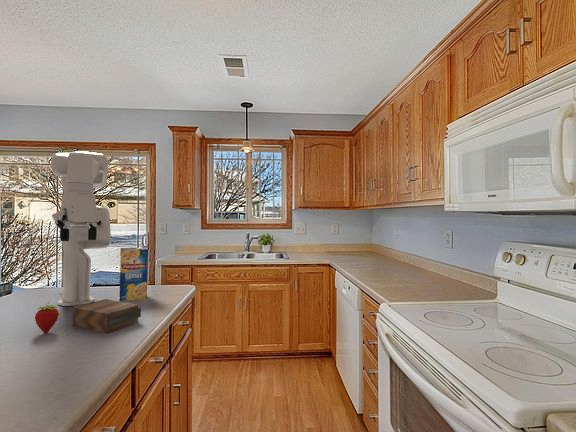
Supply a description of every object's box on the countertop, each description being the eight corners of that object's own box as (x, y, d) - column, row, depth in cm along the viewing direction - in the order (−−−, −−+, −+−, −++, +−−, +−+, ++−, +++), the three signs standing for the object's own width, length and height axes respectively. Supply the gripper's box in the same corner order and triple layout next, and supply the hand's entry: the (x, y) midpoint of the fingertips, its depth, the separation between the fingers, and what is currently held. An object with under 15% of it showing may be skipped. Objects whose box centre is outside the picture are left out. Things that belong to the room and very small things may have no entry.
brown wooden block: (72, 325, 107) (73, 307, 107) (105, 315, 118) (105, 299, 118) (109, 333, 101) (109, 314, 101) (140, 322, 112) (141, 305, 112)
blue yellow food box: (147, 298, 144) (148, 248, 144) (119, 301, 139) (120, 249, 139) (146, 295, 150) (147, 247, 150) (119, 297, 145) (120, 248, 145)
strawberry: (60, 328, 105) (61, 296, 105) (56, 335, 98) (57, 302, 98) (37, 330, 102) (38, 298, 102) (31, 338, 95) (32, 304, 95)
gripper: (95, 192, 119) (94, 239, 118) (45, 187, 103) (44, 241, 102) (110, 191, 116) (109, 239, 116) (62, 186, 100) (60, 241, 99)
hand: (78, 240), depth 109 cm, fingers open, 9 cm apart
